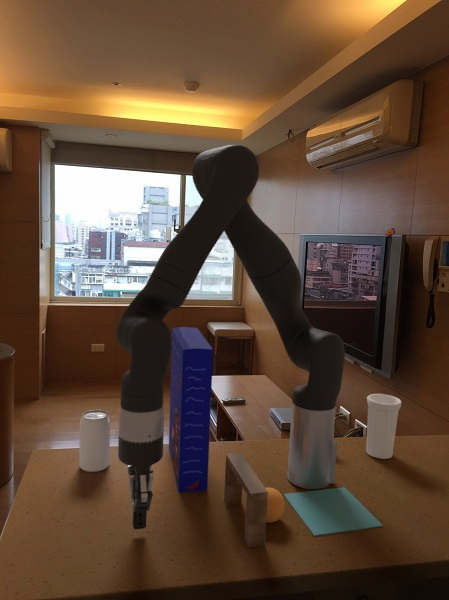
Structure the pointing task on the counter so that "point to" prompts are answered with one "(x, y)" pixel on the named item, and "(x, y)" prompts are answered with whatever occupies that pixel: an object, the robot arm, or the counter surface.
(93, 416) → the can
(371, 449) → the cup
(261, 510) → the bridge
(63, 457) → the counter surface
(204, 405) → the cereal box
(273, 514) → the ball
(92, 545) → the counter surface
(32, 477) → the counter surface
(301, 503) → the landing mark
